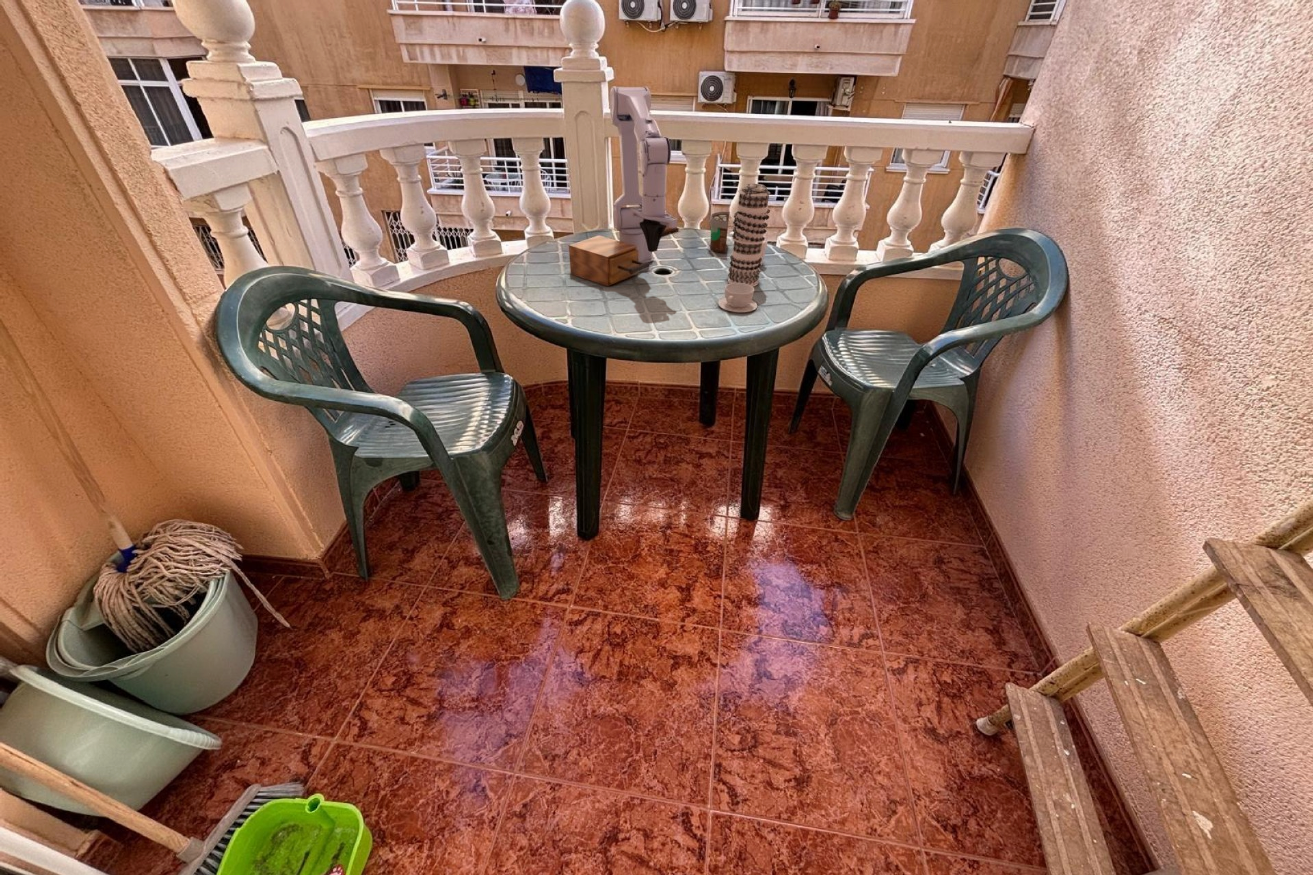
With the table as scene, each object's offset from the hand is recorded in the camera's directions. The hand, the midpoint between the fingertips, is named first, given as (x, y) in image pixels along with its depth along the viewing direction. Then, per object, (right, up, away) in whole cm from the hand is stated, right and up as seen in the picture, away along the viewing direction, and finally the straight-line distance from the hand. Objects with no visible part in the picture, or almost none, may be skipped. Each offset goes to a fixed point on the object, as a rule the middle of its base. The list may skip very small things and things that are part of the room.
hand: (652, 250), depth 137 cm
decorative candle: (+25, -5, +13) cm, 29 cm away
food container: (+20, +13, +36) cm, 43 cm away
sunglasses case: (+1, +22, +47) cm, 52 cm away
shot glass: (+30, +5, +25) cm, 40 cm away
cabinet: (-14, -2, +15) cm, 20 cm away
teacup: (+22, -15, -1) cm, 26 cm away
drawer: (-11, -3, +12) cm, 16 cm away
